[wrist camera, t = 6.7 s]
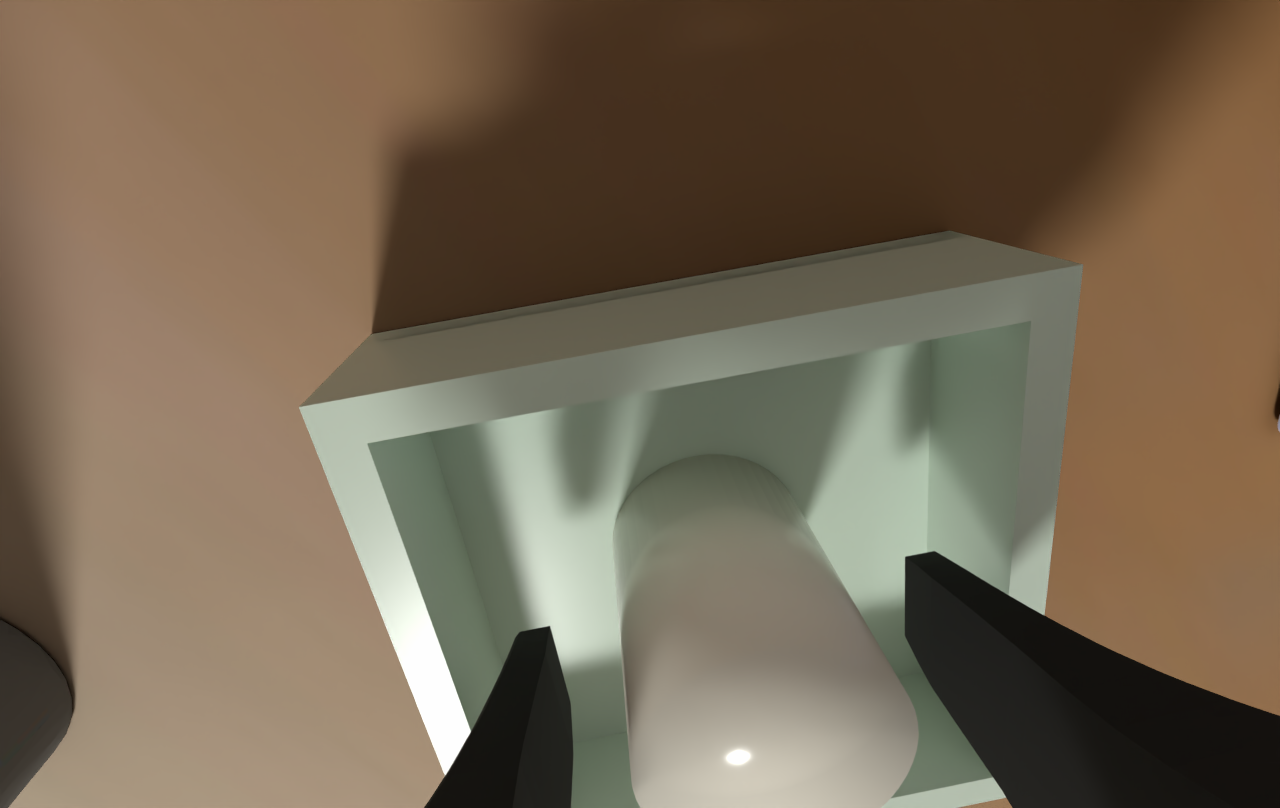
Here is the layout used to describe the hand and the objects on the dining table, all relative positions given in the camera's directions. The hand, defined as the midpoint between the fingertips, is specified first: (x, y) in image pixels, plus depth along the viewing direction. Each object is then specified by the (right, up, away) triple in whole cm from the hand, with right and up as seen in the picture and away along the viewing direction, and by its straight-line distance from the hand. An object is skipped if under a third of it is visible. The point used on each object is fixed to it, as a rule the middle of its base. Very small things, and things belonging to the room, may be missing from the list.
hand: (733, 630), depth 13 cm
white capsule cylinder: (0, +1, +3) cm, 3 cm away
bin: (0, +1, +3) cm, 4 cm away
